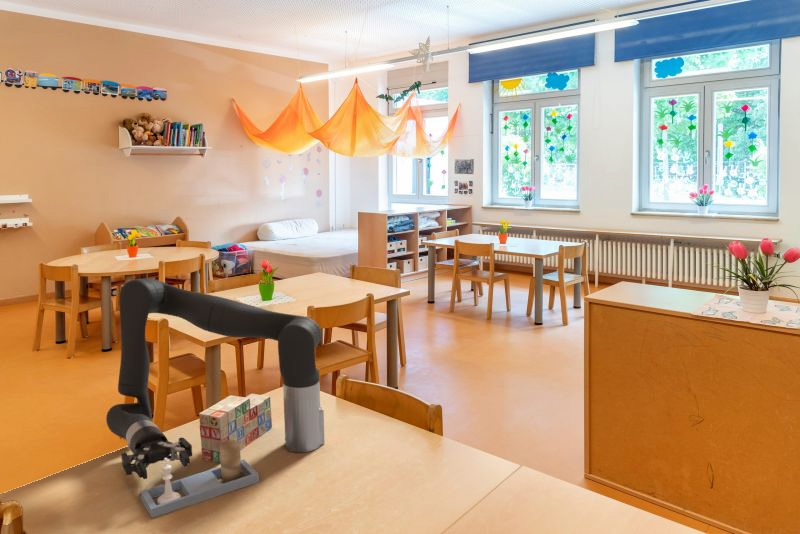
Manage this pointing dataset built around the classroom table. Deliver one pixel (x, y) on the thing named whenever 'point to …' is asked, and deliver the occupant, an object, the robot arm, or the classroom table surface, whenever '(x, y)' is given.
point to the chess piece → (167, 485)
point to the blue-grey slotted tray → (197, 489)
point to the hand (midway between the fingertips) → (166, 468)
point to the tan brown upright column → (230, 460)
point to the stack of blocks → (234, 423)
